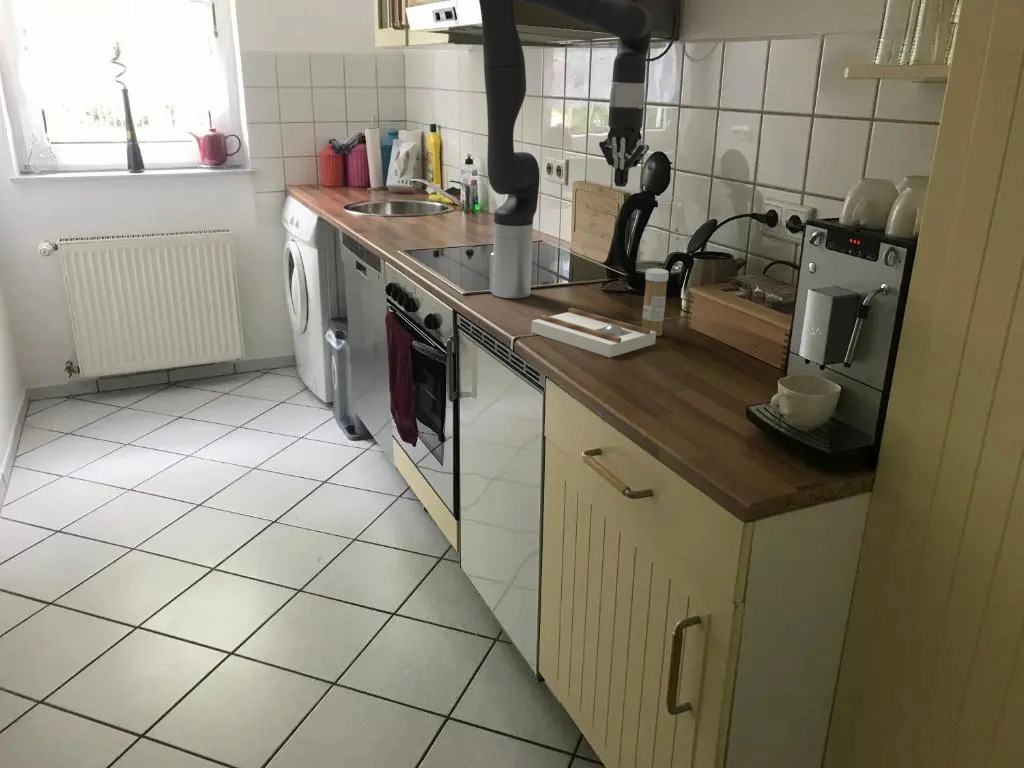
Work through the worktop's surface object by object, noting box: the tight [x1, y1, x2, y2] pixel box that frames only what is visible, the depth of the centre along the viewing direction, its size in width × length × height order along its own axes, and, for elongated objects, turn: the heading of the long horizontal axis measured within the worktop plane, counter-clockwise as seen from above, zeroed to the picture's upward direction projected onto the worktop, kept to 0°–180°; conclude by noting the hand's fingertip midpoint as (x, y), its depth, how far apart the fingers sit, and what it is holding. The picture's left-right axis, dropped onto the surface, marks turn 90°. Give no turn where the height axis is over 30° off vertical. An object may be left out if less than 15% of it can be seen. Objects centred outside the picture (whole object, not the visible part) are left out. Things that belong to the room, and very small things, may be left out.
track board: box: [530, 307, 657, 358], centre depth 164 cm, size 21×14×3 cm, turn 44°
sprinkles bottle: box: [641, 267, 670, 337], centre depth 166 cm, size 5×5×13 cm
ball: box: [603, 324, 623, 337], centre depth 160 cm, size 4×4×4 cm
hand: (620, 186), depth 183 cm, fingers closed
